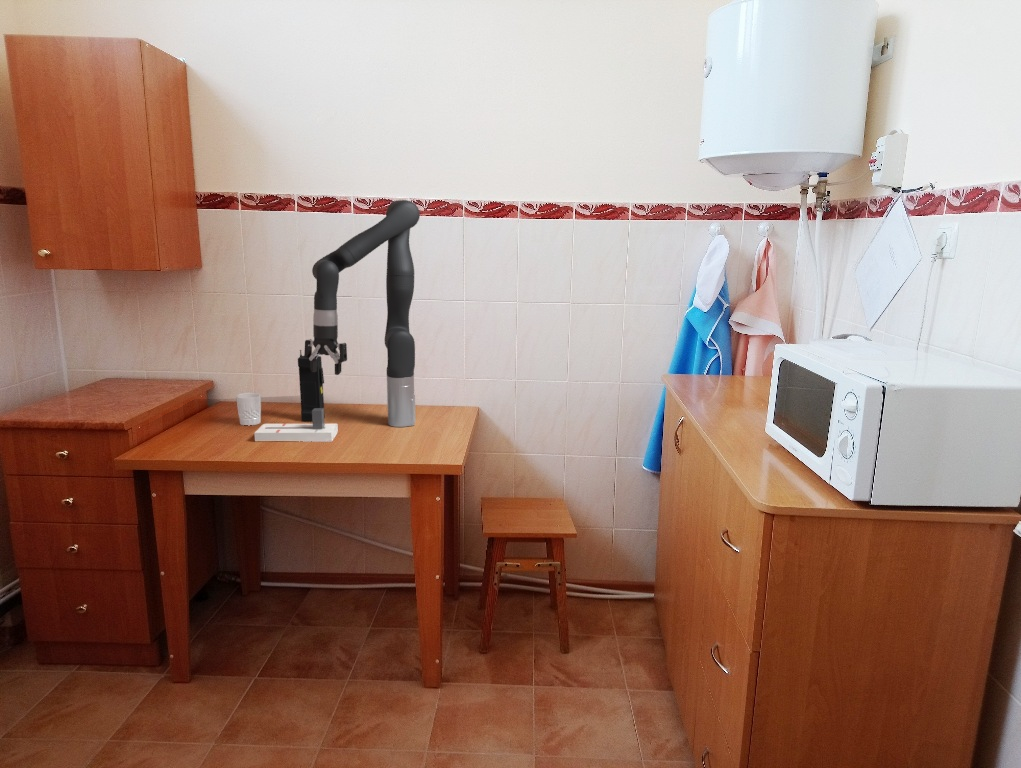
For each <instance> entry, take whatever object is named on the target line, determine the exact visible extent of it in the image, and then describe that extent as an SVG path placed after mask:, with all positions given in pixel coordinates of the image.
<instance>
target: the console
mask: <svg viewBox="0 0 1021 768" xmlns="http://www.w3.org/2000/svg"><path fill="white" fill-rule="evenodd" d="M338 429H339V427H338V423H325V426H324V427H323V429H313V423H286V422H285V423H263V424H262V425H261V426H259V428H258V429H257V430H256V431H254V441H299V442H300V441H303V442H304V443H305V442H306V443H307V442H311V441H312V442H314V443H315V442H318V443H321V442H322V443H323V442H327V443H328V442H330V443H331V442H333V440H334V439H335V437H336V436H337V434H338V433H339V431H338ZM299 442H298V443H299ZM303 442H302V443H303Z"/></svg>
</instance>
